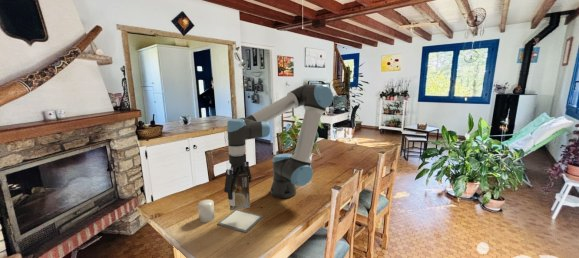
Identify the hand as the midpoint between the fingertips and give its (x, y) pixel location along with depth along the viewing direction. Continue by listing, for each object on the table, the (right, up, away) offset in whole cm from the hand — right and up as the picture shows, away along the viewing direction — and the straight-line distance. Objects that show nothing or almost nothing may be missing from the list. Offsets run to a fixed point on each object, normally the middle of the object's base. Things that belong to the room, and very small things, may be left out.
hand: (239, 200), depth 114 cm
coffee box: (0, -3, +1) cm, 3 cm away
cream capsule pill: (-16, -10, +4) cm, 20 cm away
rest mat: (0, -10, +2) cm, 10 cm away
